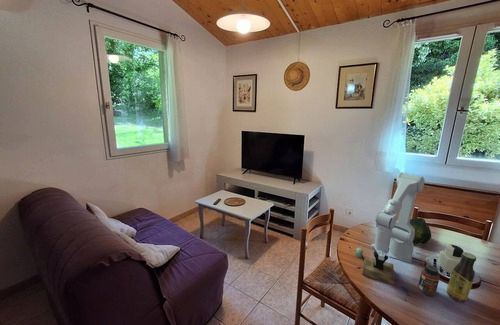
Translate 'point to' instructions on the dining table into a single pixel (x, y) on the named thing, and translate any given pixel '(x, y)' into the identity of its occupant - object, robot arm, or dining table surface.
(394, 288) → the dining table surface
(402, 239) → the robot arm
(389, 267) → the hole block
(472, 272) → the sauce bottle
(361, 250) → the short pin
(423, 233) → the squash
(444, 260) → the medicine bottle
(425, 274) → the supplement bottle
